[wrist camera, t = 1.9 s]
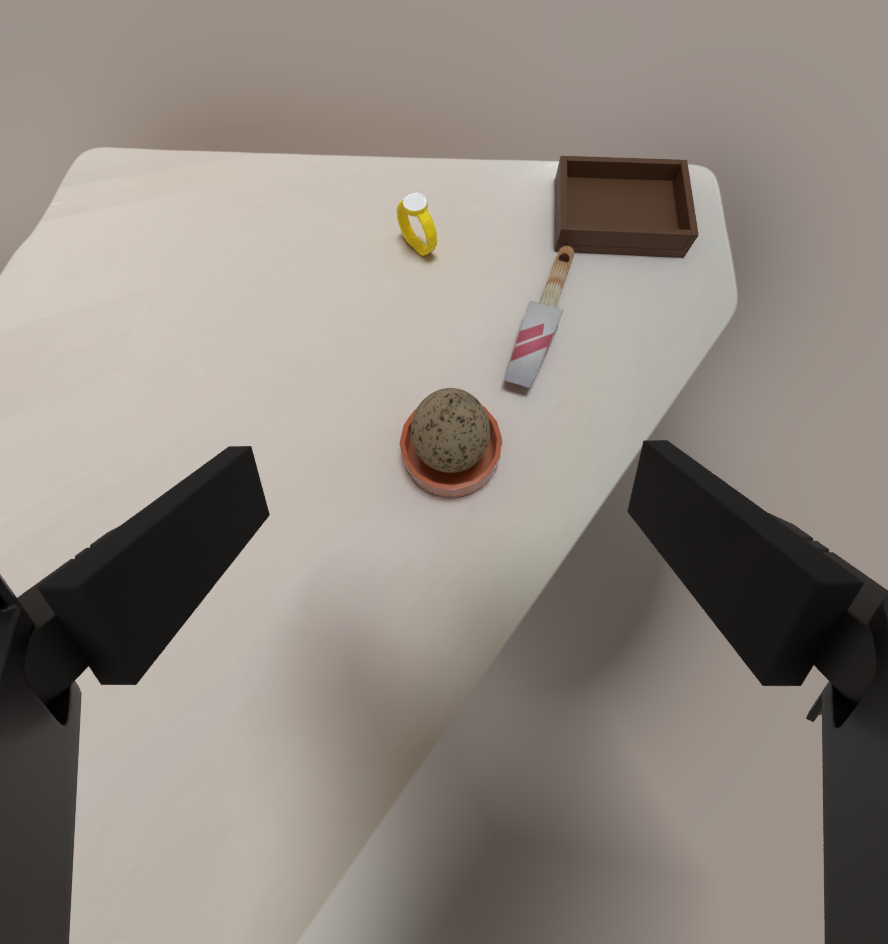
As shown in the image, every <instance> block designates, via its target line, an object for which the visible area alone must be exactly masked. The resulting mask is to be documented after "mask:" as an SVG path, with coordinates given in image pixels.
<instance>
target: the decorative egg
mask: <svg viewBox="0 0 888 944" xmlns="http://www.w3.org/2000/svg"><path fill="white" fill-rule="evenodd" d="M411 438H412V443H413V446H414V449H415V451H416V453H417V454H418V456H419V457H420V458H421V460H422V461H423V462H424V463H425V464H427V465H428V466H430V467H431V468H433V469H435V470H438V471H441V472H446V473H456V472H461V471H464V470H467V469H469V468H470V467H472V466H473V465H475V464H476V463H477V462H478V461H479V460H480V459H481V458H482V456H483V455H484V453H485V451H486V449H487V447H488V444H489V440H490V424H489V419H488V416H487V413H486V411H485V409H484V408H483V406H482V405H481V403H480V402H479V401H478V400H477V399H476V398H475V397H474V396H472V395H471V394H469V393H468V392H466V391H463V390H460V389H456V388H446V389H441V390H438V391H435V392H434V393H432V394H430V395H429V396H427V397H426V398H425V399H424V400H423V401H422V402H421V403H420V405H419V406H418V408H417V409H416V411H415V413H414V416H413V419H412V424H411Z"/></svg>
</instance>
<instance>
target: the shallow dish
mask: <svg viewBox="0 0 888 944" xmlns="http://www.w3.org/2000/svg"><path fill="white" fill-rule="evenodd" d="M483 408H484V409H485V411H486V413H487V416H488V419H489V424H490V440H489V444H488V447H487V449H486V451H485V453H484V455H483V456H482V458H481V459H480V460H479V461H478V462H477V463H476V464H475V465H473V466H472V467H470V468H469V469H467V470H464V471H461V472H456V473H446V472H441V471H438V470H435V469H433V468H431V467H430V466H428V465H427V464H425V463H424V462H423V461H422V460H421V458H420V457H419V456H418V454H417V453H416V451H415V449H414V446H413V443H412V438H411V424H412V419H413V416H414V413H415V411H416V409H415V410H414V411H413V413H412V414H411V416H410V417H409V418H408V420H407V421H406V423H405V424H404V426H403V431H402V435H401V440H400V447H401V452H402V456H403V461H404V464H405V466H406V469H407V471H408V472H409V474H410V475H411V477H412V478H413V480H414V481H415V482H416V483H417V484H418V485H419V486H420V487H421V488H423V489H424V490H426V491H428V492H430V493H432V494H434V495H437V496H442V497H461V496H465V495H468V494H470V493H473V492H475V491H476V490H478V489H480V488H481V487H482V486H483V485H484V484H485V483H486V482H487V481H488V480H489V479H490V477H491V476H492V474H493V472H494V470H495V469H496V467H497V465H498V461H499V458H500V452H501V445H502V437H501V433H500V430H499V427H498V424H497V421H496V420H495V419H494V418H493V416H492V415H491V414H490V413H489V412H488V410H487V409H486V408H485V407H483Z"/></svg>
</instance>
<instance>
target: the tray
mask: <svg viewBox="0 0 888 944" xmlns="http://www.w3.org/2000/svg"><path fill="white" fill-rule="evenodd" d="M697 237H698V228H697V222H696V215H695V209H694V202H693V196H692V190H691V183H690V177H689V170H688V164H687V160H671V159H640V158H609V157H579V156H561V157H560V161H559V165H558V170H557V174H556V178H555V251H559V250H560V248H562V247H563V246H570V247H572V249H573V250H574V252H581V253H602V254H623V255H645V256H666V257H684V256H685V255H686V253H687V252H688V250H689V249H690V247H691V246H692V244H693V243H694V241H695V240H696V238H697Z"/></svg>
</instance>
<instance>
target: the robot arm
mask: <svg viewBox="0 0 888 944" xmlns="http://www.w3.org/2000/svg"><path fill="white" fill-rule="evenodd" d="M628 513H629V514H630V516H631V517H632V518H633V519H634V521H635V522H636V523H637V524H638V526H639V527H640V528H641V530H642V531H643V532H644V534H645V535H646V536H647V537H648V539H649V540H650V541H651V543H652V544H653V545H654V546H655V548H656V549H657V550H658V552H659V553H660V554H661V555H662V557H663V558H664V559H665V561H666V562H667V563H668V564H669V566H670V567H671V568H672V569H673V571H674V572H675V573H676V575H677V576H678V577H679V579H680V580H681V581H682V582H683V584H684V585H685V586H686V588H687V589H688V590H689V591H690V593H691V594H692V595H693V597H694V598H695V599H696V601H697V602H698V603H699V604H700V606H701V607H702V608H703V609H704V611H705V612H706V613H707V615H708V616H709V617H710V618H711V620H712V621H713V622H714V624H715V625H716V626H717V628H718V629H719V630H720V631H721V633H722V634H723V635H724V637H725V638H726V639H727V640H728V642H729V643H730V644H731V645H732V647H733V648H734V649H735V651H736V652H737V653H738V654H739V656H740V657H741V658H742V660H743V661H744V662H745V664H746V665H747V666H748V667H749V669H750V670H751V671H752V673H753V674H754V675H755V676H756V678H757V679H758V680H759V682H760V683H761V684H762V685H763V686H801V685H802V683H803V682H804V680H805V678H806V677H807V675H808V674H809V672H810V670H811V669H812V667H813V665H814V666H815V667H816V668H817V669H818V670H819V671H820V672H821V673H822V674H823V675H824V676H825V677H826V678H827V679H828V680H829V682H828V684H827V685H826V687H825V688H824V690H823V691H822V693H821V694H820V696H819V697H818V699H817V700H816V702H815V703H814V705H813V706H812V708H811V709H810V711H809V713H808V715H807V718H806V719H808V720H810V721H812V722H814V720H815V719H816V718H817V716H818V715H821V714H822V745H823V746H822V747H823V749H822V750H823V751H822V752H823V830H824V831H823V834H824V909H825V910H824V911H825V912H824V913H825V916H824V917H825V944H888V590H886V589H885V588H883V587H882V586H880V585H879V584H878V583H876V582H875V581H873V580H872V579H870V578H869V577H868V576H866V575H865V574H863V573H862V572H860V571H859V570H858V569H856V568H855V567H853V566H852V565H850V564H849V563H847V562H846V561H845V560H843V559H842V558H841V557H839V556H837V555H836V554H835V553H833V552H831V553H830V552H829V549H828V548H826V547H825V546H823V545H822V544H820V543H819V542H818V541H813V538H812V537H811V536H809V535H808V534H806V533H805V532H803V531H802V530H800V529H799V528H798V527H796V526H795V525H793V524H791V523H789V522H787V521H785V520H783V519H780V518H778V517H776V516H774V515H771V514H770V513H767V512H766V511H764V510H763V509H761V508H760V507H759V506H757V505H756V504H755V503H753V502H752V501H751V500H749V499H748V498H746V497H745V496H744V495H742V494H741V493H739V492H738V491H737V490H735V489H734V488H732V487H731V486H729V485H728V484H727V483H726V482H724V481H723V480H721V479H720V478H718V477H717V476H716V475H714V474H713V473H711V472H710V471H709V470H707V469H706V468H704V467H703V466H702V465H701V464H699V463H698V462H696V461H695V460H694V459H692V458H691V457H689V456H688V455H687V454H685V453H684V452H683V451H681V450H680V449H678V448H677V447H676V446H674V445H673V444H671V443H670V442H669V441H666V440H665V441H663V440H660V441H643V446H642V450H641V454H640V459H639V463H638V468H637V472H636V476H635V481H634V485H633V489H632V494H631V499H630V503H629V507H628ZM269 515H270V514H269V511H268V507H267V503H266V500H265V496H264V492H263V488H262V485H261V481H260V477H259V473H258V470H257V466H256V462H255V459H254V455H253V451H252V447H251V446H232V447H228V448H226V449H225V450H223V451H222V452H221V453H219V454H218V455H217V456H215V457H214V458H213V459H211V460H210V461H208V462H207V463H206V464H204V465H203V466H202V467H200V468H199V469H197V470H196V471H195V472H193V473H192V474H191V475H189V476H188V477H186V478H185V479H184V480H182V481H181V482H180V483H178V484H177V485H176V486H174V487H173V488H171V489H170V490H169V491H167V492H166V493H165V494H163V495H162V496H160V497H159V498H158V499H156V500H155V501H154V502H152V503H151V504H149V505H148V506H147V507H145V508H144V509H143V510H141V511H140V512H139V513H137V514H136V515H134V516H133V517H132V518H130V519H129V520H128V521H126V522H125V523H123V524H122V525H121V526H119V527H117V528H115V529H113V530H111V531H109V532H108V533H106V534H105V535H104V536H102V537H101V538H99V539H98V540H97V541H95V542H94V543H92V544H91V545H90V548H86V549H84V550H83V551H81V552H80V553H79V554H77V555H76V556H75V559H70V560H69V561H68V562H66V563H65V564H63V565H62V566H61V567H59V568H58V569H56V570H55V571H54V572H52V573H51V574H50V575H48V576H47V577H45V578H44V579H43V580H41V581H40V582H38V583H37V584H36V585H34V586H33V587H32V588H30V589H29V590H27V591H26V592H25V593H23V594H22V595H21V596H19V597H18V598H17V597H16V596H15V595H14V593H13V592H12V590H11V589H10V588H9V586H8V585H7V583H6V582H5V580H4V579H3V578H2V576H1V575H0V944H69V932H70V912H71V892H72V872H73V852H74V832H75V812H76V792H77V773H78V753H79V733H80V713H81V691H80V688H79V686H78V685H77V683H76V682H75V680H76V679H77V678H78V677H79V676H80V675H81V674H82V673H83V671H84V670H85V669H86V668H87V667H88V666H89V667H90V669H91V670H92V672H93V673H94V675H95V676H96V678H97V679H98V681H99V682H100V684H101V685H136V684H137V683H138V682H139V681H140V679H141V678H142V677H143V675H144V674H145V673H146V672H147V670H148V669H149V668H150V667H151V665H152V664H153V663H154V661H155V660H156V659H157V658H158V656H159V655H160V654H161V653H162V651H163V650H164V649H165V647H166V646H167V645H168V644H169V642H170V641H171V640H172V639H173V637H174V636H175V635H176V633H177V632H178V631H179V630H180V628H181V627H182V626H183V625H184V623H185V622H186V621H187V619H188V618H189V617H190V616H191V614H192V613H193V612H194V611H195V609H196V608H197V607H198V606H199V604H200V603H201V602H202V600H203V599H204V598H205V597H206V595H207V594H208V593H209V592H210V590H211V589H212V588H213V586H214V585H215V584H216V583H217V581H218V580H219V579H220V578H221V576H222V575H223V574H224V572H225V571H226V570H227V569H228V567H229V566H230V565H231V564H232V562H233V561H234V560H235V558H236V557H237V556H238V555H239V553H240V552H241V551H242V550H243V548H244V547H245V546H246V544H247V543H248V542H249V541H250V539H251V538H252V537H253V536H254V534H255V533H256V532H257V530H258V529H259V528H260V527H261V525H262V524H263V523H264V522H265V520H266V519H267V518H268V516H269Z"/></svg>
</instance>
